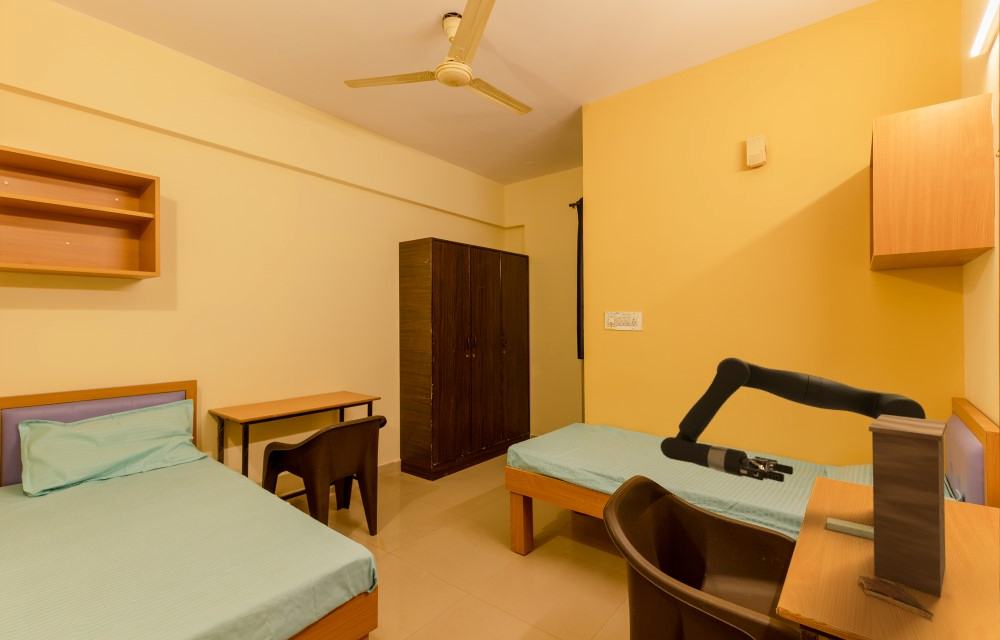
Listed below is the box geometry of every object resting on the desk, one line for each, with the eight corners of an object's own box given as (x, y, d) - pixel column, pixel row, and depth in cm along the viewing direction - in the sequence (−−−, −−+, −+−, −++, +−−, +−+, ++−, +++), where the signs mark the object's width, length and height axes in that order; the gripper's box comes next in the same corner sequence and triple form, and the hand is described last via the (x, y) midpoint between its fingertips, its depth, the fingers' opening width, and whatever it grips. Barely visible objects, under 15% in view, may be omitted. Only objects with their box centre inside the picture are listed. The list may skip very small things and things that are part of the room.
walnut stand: (883, 547, 105) (881, 414, 105) (948, 566, 97) (946, 421, 97) (871, 575, 94) (868, 426, 94) (944, 599, 86) (941, 436, 86)
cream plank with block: (827, 524, 118) (827, 509, 118) (931, 547, 105) (931, 531, 106) (827, 529, 115) (826, 514, 115) (933, 554, 102) (933, 537, 102)
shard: (934, 622, 80) (934, 613, 80) (886, 617, 81) (886, 607, 81) (894, 587, 90) (893, 578, 90) (851, 583, 92) (851, 574, 92)
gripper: (718, 453, 130) (781, 467, 118) (735, 443, 139) (795, 455, 127) (718, 478, 130) (780, 494, 118) (735, 467, 139) (795, 481, 128)
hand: (788, 474), depth 123 cm, fingers open, 8 cm apart
